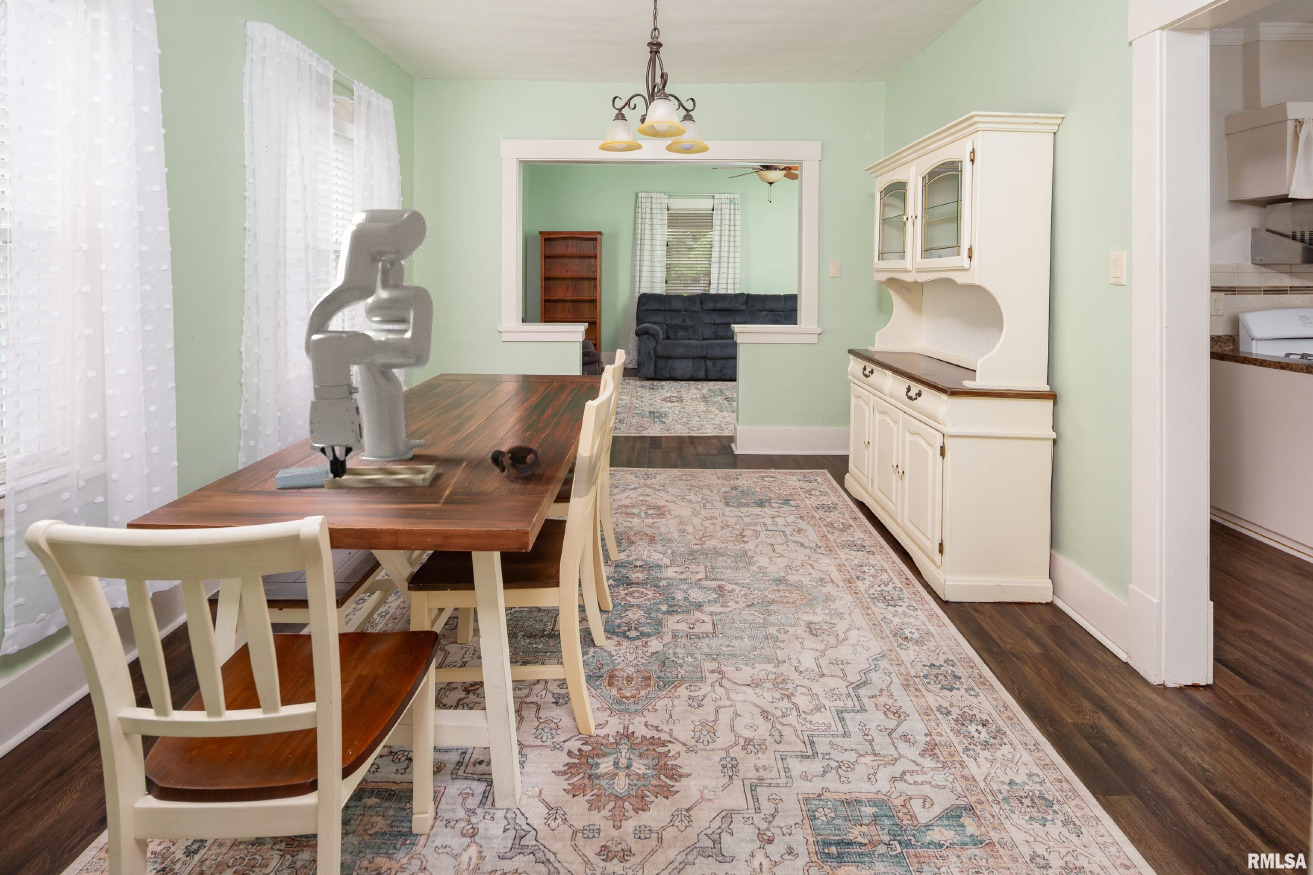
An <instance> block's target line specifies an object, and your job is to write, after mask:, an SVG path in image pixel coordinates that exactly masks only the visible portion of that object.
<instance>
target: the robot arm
mask: <svg viewBox="0 0 1313 875" xmlns="http://www.w3.org/2000/svg"><path fill="white" fill-rule="evenodd" d="M351 223H352V224H351V225H348V226H347V227H346V229H345V230H344V232H343V236H342V241H341V248H340V255H339V260H338V265H337V272H336V279H335V283H334V285H333V286H332V287H331V288H330V289H329V290H328V291H326V292H325V293H324V294H323V295H322V296H321V298H320V299H319V300H318V301H316V303H315V305H314V306H313V308H312V309H311V312H310V313H309V316H308V319H307V325H306V331H305V336H304V337H305V338H304V339H305V340H304V351H305V354H306V358H307V359H308V360H309V361H310V362H311V372H312V374H311V375H312V385H313V386H312V387H313V398H312V399H311V400H310V407H309V415H308V416H309V417H308V419H309V420H308V428H309V429H308V432H309V437H308V438H309V441H310V446H309V449H310V451H312V452H317V453H321V454H322V455H324V456H325V457H326V459H327V460H328V461H329V464H330V473H331V475H332V479H335V478H342V477H343V476H344V475H345V474H346V472H347V468H346V467H347V458H348V456H349V455H350V454H351V453H353V452H356V451H361V450H362V449H364V450H365V451H363V452H361V453H359V454H358V459H359V461H362V462H363V461H365V462H393V461H406V460H409V459H411V458H412V457H413V455H414V454H413V450H414V449H422V448H423V449H425V448H426V440H425V439H420V440H418V439H409V438H407V437H406V430H405V428H406V427H405V426H406V425H405V408H404V389H403V385H402V382H401V380H400V378H399V377H398V375H397V374H396V373H395V372H394V370H418V369H423V368H425V367H426V366H427V364H428V362H429V361H430V357H431V356H430V355H431V350H432V349H431V346H432V345H431V344H432V336H433V334H432V332H433V320H434V304H433V300H432V295H431V294H430V292H429V290H428V289H427V288H425V287H423V286H421V285H420V286H419V285H404V284H405V283H404V282H405V267H404V264H403V263H402V261H404V260H407V259H408V258H409V257H410V256H412V254H413V253H414V252H415V251H417V250H418V249H419V247H420V246H422V244H423V243H424V241H425V238H426V236H427V222H426V220H425V218H424V216H423V215H422V213H421V212H419V211H418V210H416V209H408V208H406V209H397V208H396V209H395V208H394V209H393V208H392V209H391V208H390V209H389V208H387V209H385V208H378V209H377V208H376V209H373V208H372V209H364V210H363V209H362V210H360V211H358V212H356V213H355V214H354V215H353V216H352V222H351ZM362 302H364V313H365V317H366V319H367V320H368V321H369V322H371V323H372V324H375V325H385V326H408V329H407V328H406V329H405V328H401V329H400V328H370V329H366V330H363V331H360V330H331V329H330V330H329V328H330V325H331V323H332V322H333V320H334V319H335V318H336V317H337V316H338V315H339V314H341V313H342V312H344V311H346V310H347V309H350V308H351V307H354V306H356V305H358V304H360V303H362ZM351 366H357V367H358V373H359V377H360V378H359V379H360V388H361V389H360V388H359V387H358V386H354V385H353V383H352V373H351ZM360 390H361V404H362V408H361V409H362V417H361V412H360V407H359V403H358V399H357V397H353V396H354V395H355V394H359V393H360V392H359V391H360ZM362 418H363V419H362ZM362 420H363V421H362ZM363 437H364V438H363ZM363 439H364V443H363V442H362V440H363ZM363 444H364V445H363ZM336 447H339V448H338V451H339V452H338V455H337V452H336Z"/></svg>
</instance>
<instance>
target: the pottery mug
mask: <svg viewBox="0 0 1313 875" xmlns="http://www.w3.org/2000/svg"><path fill="white" fill-rule="evenodd" d="M532 455H533V456H534V459H533V460H532V461H531V462H528V461H527V460H528V457H530V456H532ZM489 458H490V461H491V462H492V464H493V466H494V467H496V468H497V469H498V470H499V471H500V474H503V473H505V472H506V470H507V476H506V477H507V478H506V479H507V480H508V481H509V482H511V483H514V482H515V481H516V480H517V479H521V478H525V477H527V476H531V475H533V474H534V472H535V473H536V472H537V471H538V469H539V468H542V467H543V466H542V464H541V461H540V457H539V453H538V451H537V450H536V449H534V448H533V447H530V446H528V445H522V444H520V445H514V446H510V447H509V448H508V449H507V450H506V451H504V450H501V449H496V450H493V451H492V453H491V455H490V457H489Z"/></svg>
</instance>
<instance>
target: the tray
mask: <svg viewBox="0 0 1313 875" xmlns="http://www.w3.org/2000/svg"><path fill="white" fill-rule="evenodd" d="M437 466H438V465H396V466H395V465H394V466H393V465H391V466H390V465H389V466H387V465H385V466H383V465H382V466H381V465H380V466H346V468H347V472H346V474H345V475H344V476H343V477H342V478H334V479H333V478H331V479H325V480H324V486H323V487H324V489H331V488H332V489H334V488H335V489H336V488H379V487H380V488H381V487H384V488H386V487H389V488H391V487H394V488H395V487H428V486H429V485H430V483H431V481H432V480H433V478H434V477H435V476H436V475H437V472H438V469H437Z"/></svg>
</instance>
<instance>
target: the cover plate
mask: <svg viewBox="0 0 1313 875" xmlns="http://www.w3.org/2000/svg"><path fill="white" fill-rule="evenodd" d="M325 479H333V475H332V474H331V473H330V463H329V464H323V465H313V466H302V467H294V468H284V469H283V468H282V469H279V471H278V472H277V474H276V475H275V476H274V482H275V487H276V489H291V488H292V489H293V488H309V487H324V480H325Z"/></svg>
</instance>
